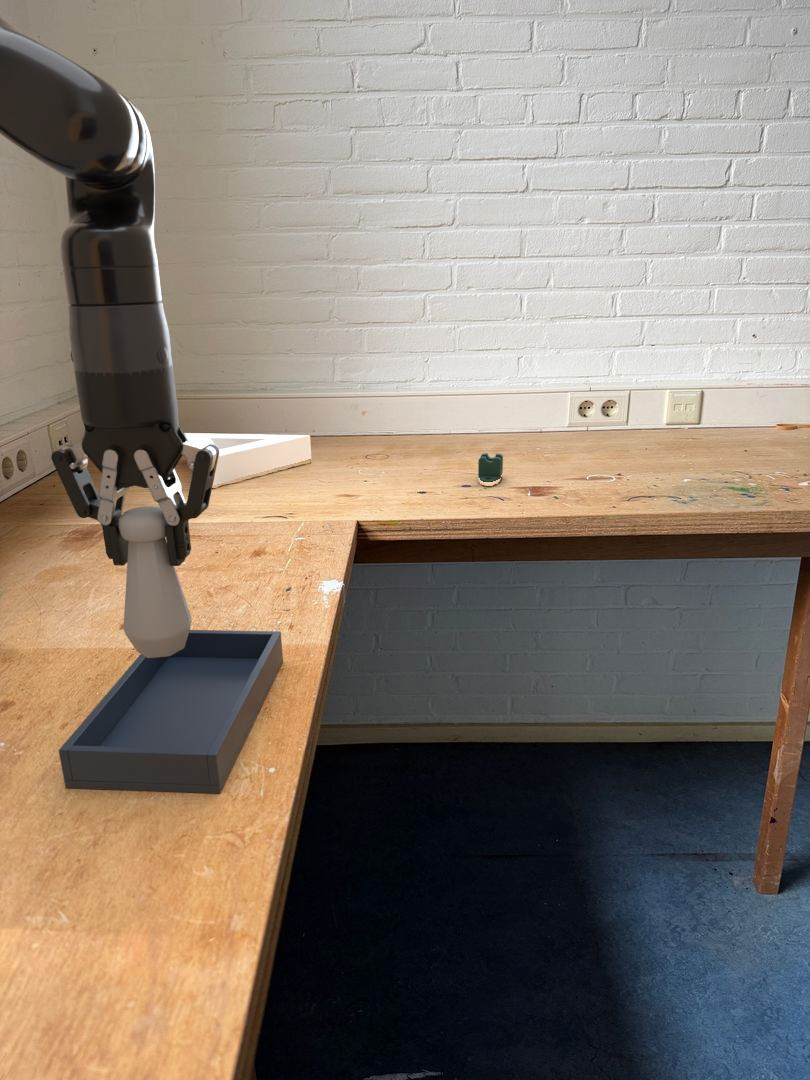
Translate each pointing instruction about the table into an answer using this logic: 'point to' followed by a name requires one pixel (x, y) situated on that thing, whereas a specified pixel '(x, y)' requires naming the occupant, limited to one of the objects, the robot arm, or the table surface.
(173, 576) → the salt shaker
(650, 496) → the table surface
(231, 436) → the triangle block
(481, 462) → the mount
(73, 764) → the dark blue tray
